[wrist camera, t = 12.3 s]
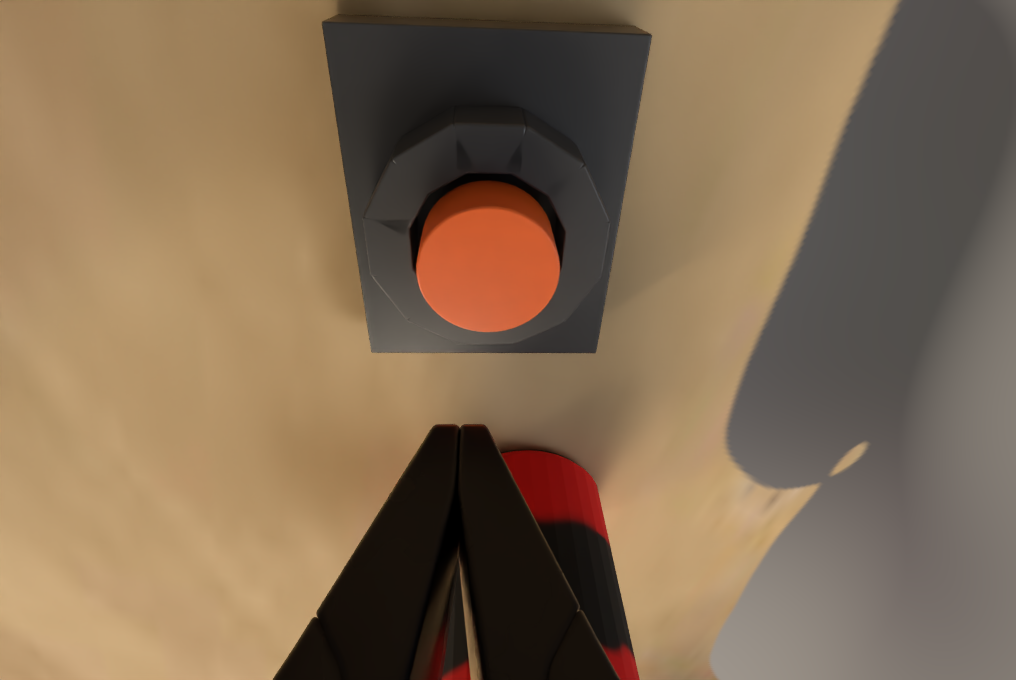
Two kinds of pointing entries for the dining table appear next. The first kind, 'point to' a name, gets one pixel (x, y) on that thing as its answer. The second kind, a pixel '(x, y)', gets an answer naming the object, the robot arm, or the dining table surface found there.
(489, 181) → the button
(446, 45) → the panel
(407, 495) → the robot arm
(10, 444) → the dining table surface
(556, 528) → the soda can
